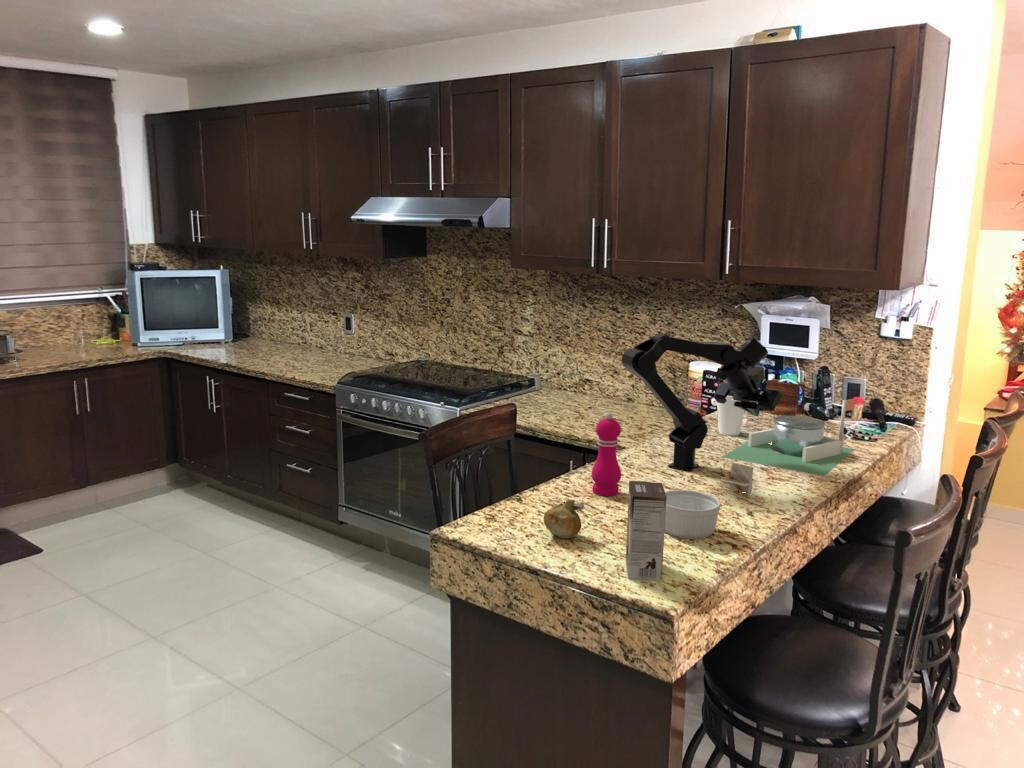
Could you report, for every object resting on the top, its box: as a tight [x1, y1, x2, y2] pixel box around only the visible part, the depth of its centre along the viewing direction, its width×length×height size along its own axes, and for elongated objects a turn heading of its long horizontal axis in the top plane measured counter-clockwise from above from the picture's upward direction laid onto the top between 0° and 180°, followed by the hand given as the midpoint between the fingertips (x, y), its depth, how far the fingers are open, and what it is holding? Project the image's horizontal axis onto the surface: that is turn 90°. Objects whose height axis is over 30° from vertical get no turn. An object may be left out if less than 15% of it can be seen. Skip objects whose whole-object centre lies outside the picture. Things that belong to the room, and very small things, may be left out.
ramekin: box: [665, 489, 721, 540], centre depth 170 cm, size 13×13×7 cm
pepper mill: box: [590, 412, 622, 497], centre depth 192 cm, size 7×7×20 cm
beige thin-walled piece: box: [747, 398, 856, 462], centre depth 237 cm, size 22×20×16 cm
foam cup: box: [716, 396, 745, 437], centre depth 254 cm, size 10×9×13 cm
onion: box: [543, 499, 585, 539], centre depth 165 cm, size 8×8×8 cm
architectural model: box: [720, 462, 754, 496], centre depth 196 cm, size 3×7×7 cm, turn 49°
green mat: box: [721, 441, 856, 477], centre depth 233 cm, size 35×28×1 cm
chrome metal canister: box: [772, 415, 826, 457], centre depth 235 cm, size 14×14×9 cm
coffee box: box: [625, 480, 667, 582], centre depth 148 cm, size 9×6×16 cm
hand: (757, 415), depth 227 cm, fingers closed
